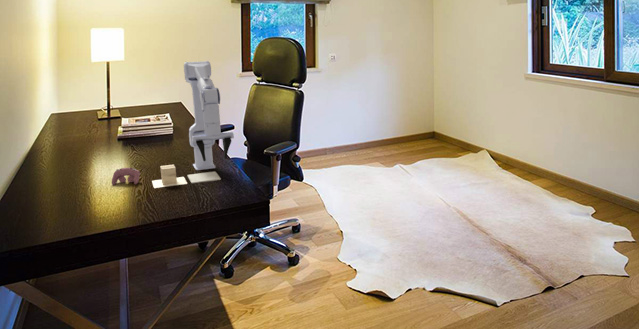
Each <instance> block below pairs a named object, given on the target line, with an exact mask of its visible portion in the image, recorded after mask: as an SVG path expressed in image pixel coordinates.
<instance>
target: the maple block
mask: <svg viewBox="0 0 639 329" xmlns="http://www.w3.org/2000/svg"><path fill="white" fill-rule="evenodd" d="M159 168H160V175H161V176H160V177H161V180H162V183H163V185H166V184H173V183H177V178H178V177H177V172H176V171H177V169H176V166H175V164H168V165H160V166H159Z"/></svg>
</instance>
